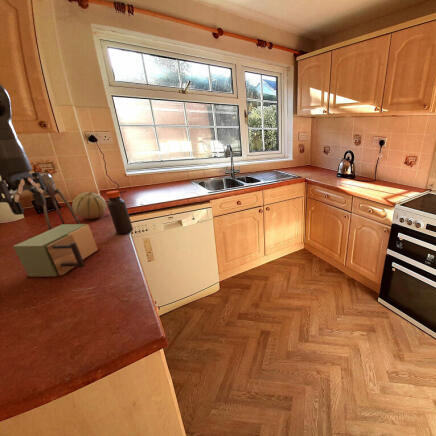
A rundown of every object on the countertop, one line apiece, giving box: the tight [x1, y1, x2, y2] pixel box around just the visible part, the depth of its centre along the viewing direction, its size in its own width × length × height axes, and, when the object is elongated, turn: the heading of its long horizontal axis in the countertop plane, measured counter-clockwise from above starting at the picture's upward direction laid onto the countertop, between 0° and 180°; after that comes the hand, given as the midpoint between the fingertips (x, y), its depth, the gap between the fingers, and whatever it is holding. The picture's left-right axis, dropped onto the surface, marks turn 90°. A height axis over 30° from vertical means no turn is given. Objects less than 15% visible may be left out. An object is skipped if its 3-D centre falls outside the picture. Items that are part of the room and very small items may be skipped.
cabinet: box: [12, 223, 99, 278], centre depth 90 cm, size 11×18×12 cm, turn 179°
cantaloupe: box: [71, 191, 108, 220], centre depth 134 cm, size 15×15×15 cm
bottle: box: [105, 190, 134, 235], centre depth 114 cm, size 7×7×20 cm
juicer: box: [39, 172, 81, 230], centre depth 111 cm, size 10×11×30 cm
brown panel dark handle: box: [46, 234, 86, 276], centre depth 86 cm, size 9×9×12 cm
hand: (31, 209), depth 75 cm, fingers open, 8 cm apart
